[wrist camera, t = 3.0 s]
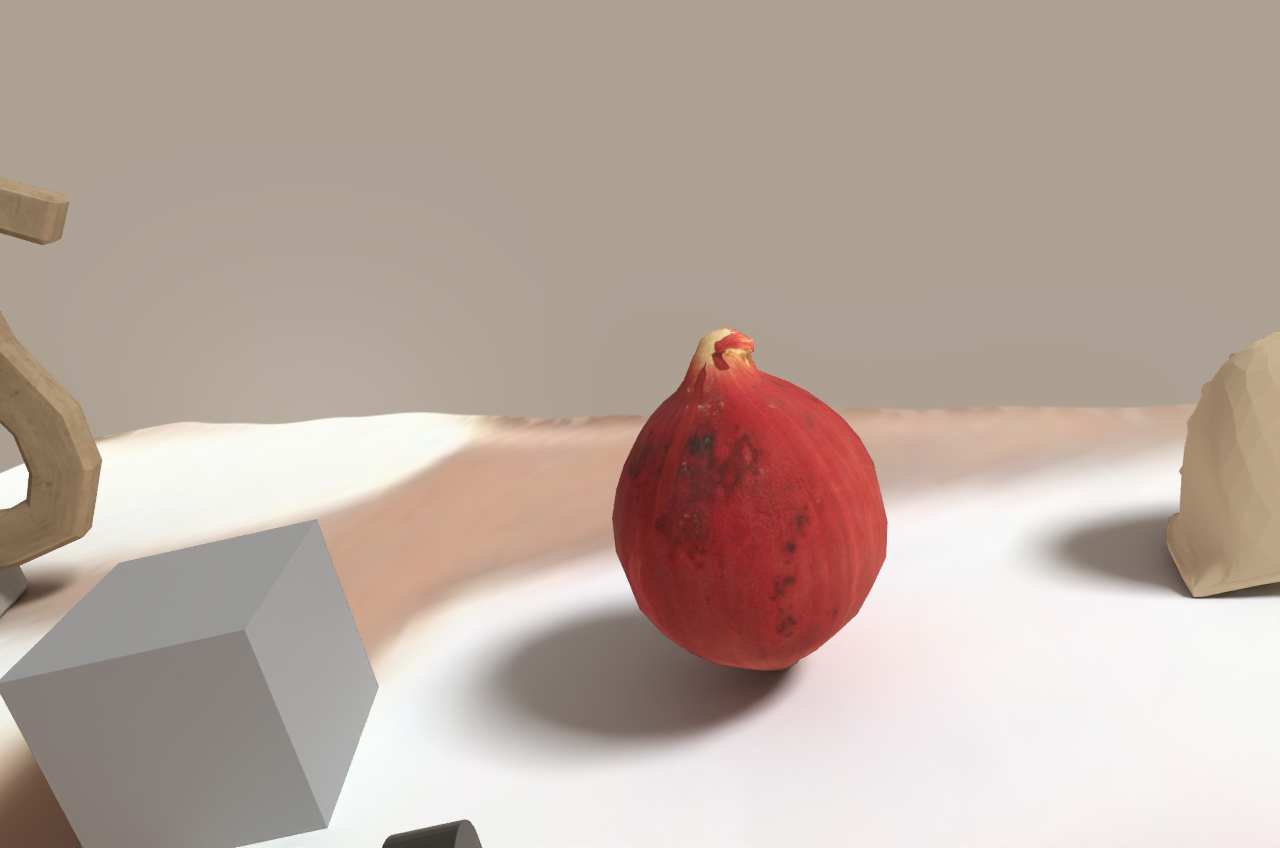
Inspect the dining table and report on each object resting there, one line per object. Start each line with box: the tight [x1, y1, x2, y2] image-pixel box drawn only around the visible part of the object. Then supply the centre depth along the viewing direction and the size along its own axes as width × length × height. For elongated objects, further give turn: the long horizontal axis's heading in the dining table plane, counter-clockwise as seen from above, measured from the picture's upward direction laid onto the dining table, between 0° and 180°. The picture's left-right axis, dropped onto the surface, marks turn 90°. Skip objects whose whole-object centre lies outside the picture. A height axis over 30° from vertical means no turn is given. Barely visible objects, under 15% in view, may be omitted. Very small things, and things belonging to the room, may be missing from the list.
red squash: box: [612, 327, 887, 672], centre depth 20 cm, size 6×6×8 cm
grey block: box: [0, 519, 379, 848], centre depth 21 cm, size 5×5×5 cm
